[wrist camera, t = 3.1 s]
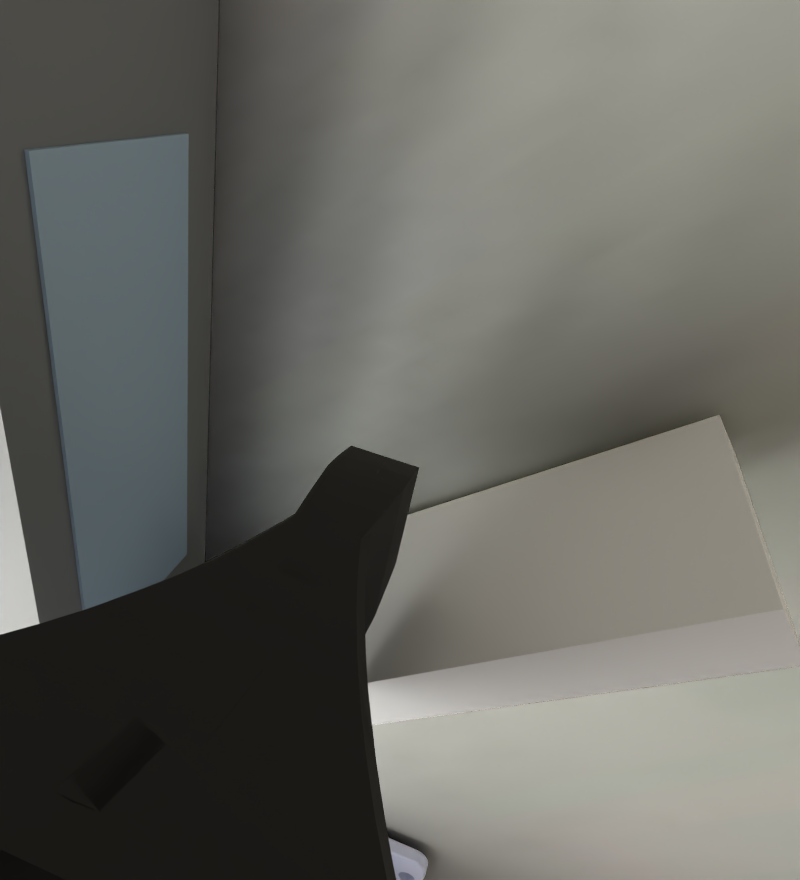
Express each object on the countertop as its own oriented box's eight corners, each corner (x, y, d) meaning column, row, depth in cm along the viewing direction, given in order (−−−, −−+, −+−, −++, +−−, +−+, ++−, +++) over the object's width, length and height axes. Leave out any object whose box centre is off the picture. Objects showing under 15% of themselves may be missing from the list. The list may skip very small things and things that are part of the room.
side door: (230, 621, 16) (112, 786, 12) (199, 580, 16) (67, 738, 12) (747, 482, 11) (824, 708, 7) (718, 413, 10) (784, 612, 6)
